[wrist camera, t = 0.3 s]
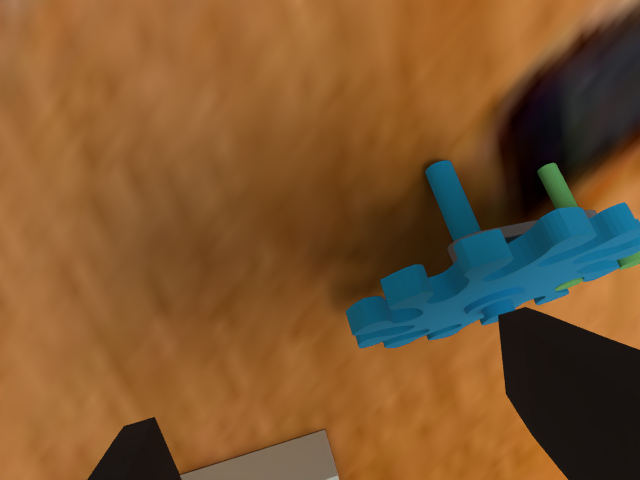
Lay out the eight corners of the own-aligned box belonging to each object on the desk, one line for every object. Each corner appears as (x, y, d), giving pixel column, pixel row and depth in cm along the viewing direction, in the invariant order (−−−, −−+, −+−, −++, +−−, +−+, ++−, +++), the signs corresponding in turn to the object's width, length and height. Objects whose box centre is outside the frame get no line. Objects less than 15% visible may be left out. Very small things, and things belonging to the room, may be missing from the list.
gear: (330, 381, 21) (416, 296, 12) (292, 246, 23) (341, 89, 14) (563, 321, 24) (772, 217, 15) (510, 207, 26) (663, 57, 17)
